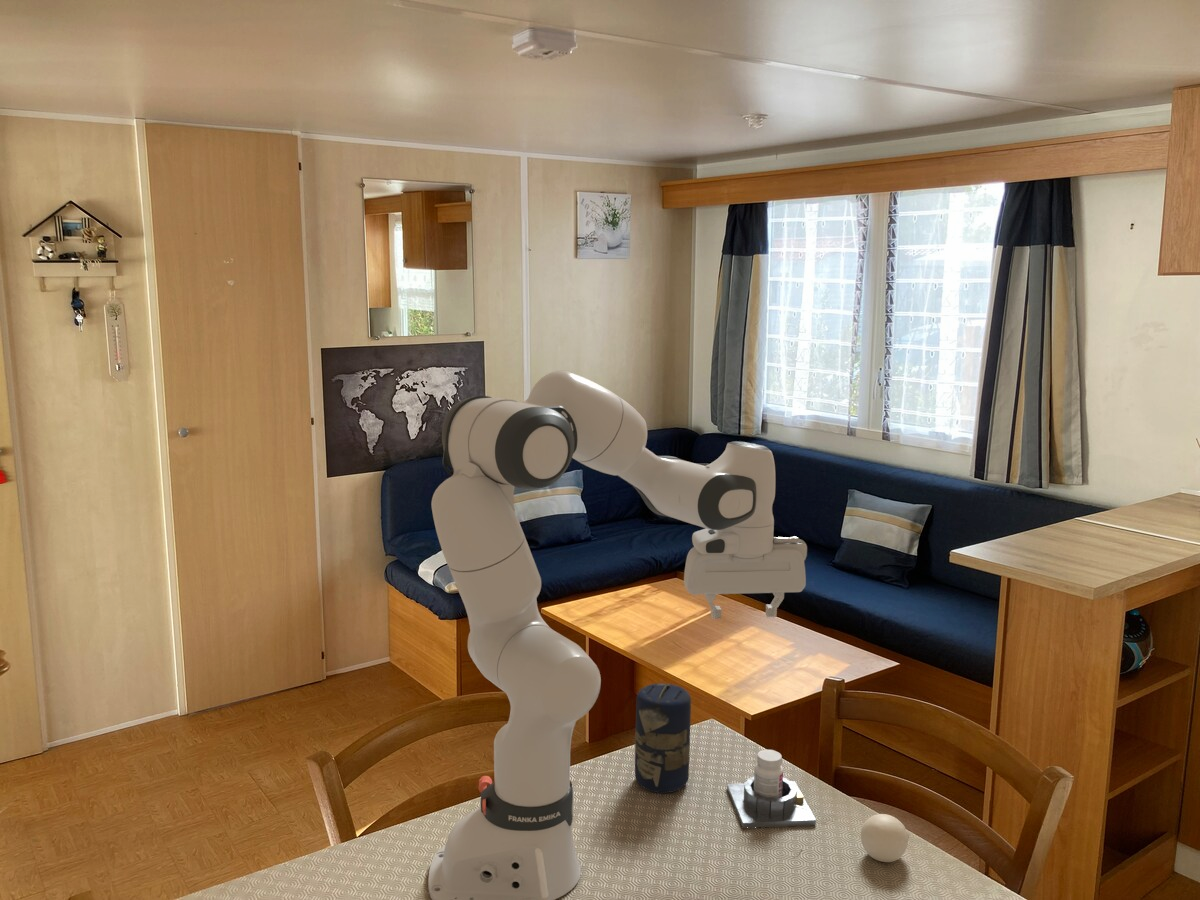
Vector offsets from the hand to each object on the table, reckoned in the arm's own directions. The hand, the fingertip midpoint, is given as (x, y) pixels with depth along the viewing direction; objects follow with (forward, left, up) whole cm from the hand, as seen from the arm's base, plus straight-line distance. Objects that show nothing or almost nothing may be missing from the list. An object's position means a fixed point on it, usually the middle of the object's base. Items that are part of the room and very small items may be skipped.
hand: (743, 616), depth 163 cm
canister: (-13, +2, -31) cm, 34 cm away
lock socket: (+4, -7, -31) cm, 32 cm away
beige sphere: (+18, -22, -31) cm, 42 cm away
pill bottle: (+3, -7, -30) cm, 31 cm away
